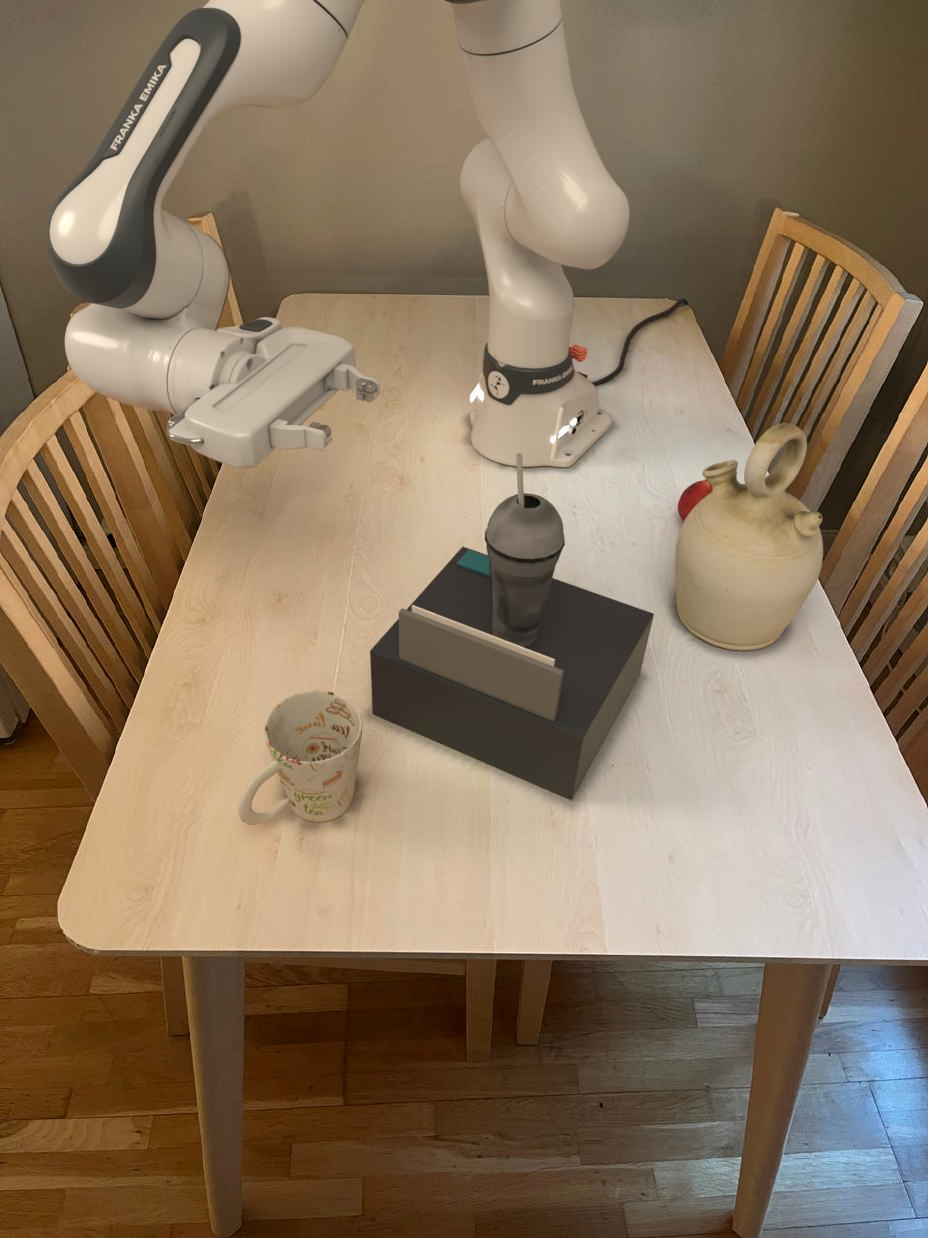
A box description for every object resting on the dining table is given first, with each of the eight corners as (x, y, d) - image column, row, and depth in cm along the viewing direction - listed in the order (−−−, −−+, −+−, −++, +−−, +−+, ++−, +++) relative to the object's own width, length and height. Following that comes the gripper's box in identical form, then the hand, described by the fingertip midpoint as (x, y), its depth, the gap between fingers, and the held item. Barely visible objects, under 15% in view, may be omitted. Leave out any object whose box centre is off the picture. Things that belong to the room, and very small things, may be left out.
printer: (461, 606, 107) (466, 493, 97) (640, 673, 100) (667, 560, 90) (372, 714, 94) (367, 598, 84) (571, 800, 87) (593, 685, 77)
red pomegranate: (669, 536, 119) (682, 484, 113) (676, 512, 123) (688, 460, 118) (715, 547, 118) (729, 494, 112) (720, 522, 122) (735, 470, 116)
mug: (384, 794, 87) (382, 723, 80) (280, 880, 80) (267, 810, 73) (324, 747, 91) (317, 675, 84) (220, 825, 83) (203, 753, 77)
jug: (638, 589, 111) (678, 401, 94) (747, 564, 115) (805, 380, 98) (706, 676, 100) (765, 481, 83) (824, 645, 105) (902, 454, 88)
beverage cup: (546, 663, 88) (571, 486, 74) (471, 650, 89) (482, 473, 75) (556, 613, 93) (581, 440, 80) (485, 602, 94) (498, 428, 81)
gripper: (147, 400, 78) (291, 438, 74) (275, 309, 92) (400, 337, 89) (161, 464, 82) (297, 502, 79) (281, 367, 96) (401, 396, 93)
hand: (353, 414), depth 84 cm, fingers open, 8 cm apart
